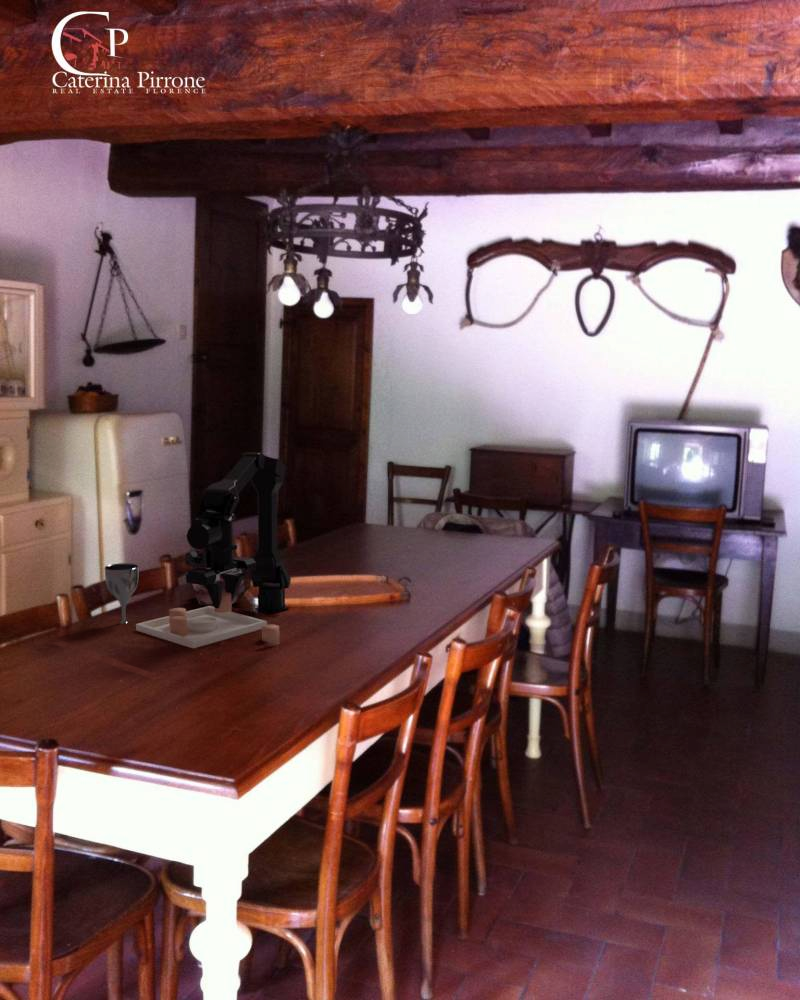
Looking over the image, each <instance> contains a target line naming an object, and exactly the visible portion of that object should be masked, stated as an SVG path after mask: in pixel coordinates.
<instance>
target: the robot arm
mask: <svg viewBox="0 0 800 1000" xmlns="http://www.w3.org/2000/svg"><path fill="white" fill-rule="evenodd" d="M285 473H286V465H285V464H284V463H283V461H282V460H281V459H280V458H276V457H275V458H273V457H271V456H270V457H269V456H267V455H265V454H263V453H261V452H251V451H250V452H247V451H245V452H244V453H242V454H241V455H240V459H239V460H238V462H237V463H236V464H235V465H234V466H233V467H232V469H230V471H229V472H228V473H227V475H226V476H225V477H224V478H223V479H221V480H220V481H217V482H214V483H212V484H211V485H209V486H207V488H205V489H204V490H203V493H202V494H201V497H200V500H199V503H198V507H197V511H196V513H195V516H194V517H195V518H194V520H193V523H194V524H193V525H191V526H190V527H189V529H187V533H186V540H187V543H188V544H189V545H190V547H192V548H193V549H195V550H192V551H189V552H187V553H185V558H184V561H185V564H186V566H188V567H191V569H189V570H188V571H187V572H185V582H186V584H191V585H192V584H198V585H204V586H205V587H206V589H207V591H208V593H209V595H210V598H211V600H212V603H213V605H214V606H213V605H212V606H213V607H214V608H217V609H218V608H219V606H220V602H221V596H222V591H223V585H224V582H225V592H230V593H231V603H232V601H233V599H234V597H235V594H236V592H237V590H238V588H239V586H240V584H241V582H242V580H243V581H244V578H245V577H247V574H246V573H243V571H242V569H245V571H246V572H247V573H249V574H250V578H251V583H252V587H253V588H258V594H257V606H256V607H255V608H254V610H256V611H260V612H264V613H267V614H275V613H279V612H282V611H283V612H284V611H286V610H289V609H290V607H289V606H287V605H286V593H285V589H290V586H291V580H292V578H291V576H290V574H289V572H288V571H287V569H286V567H285V561H284V559H285V558H284V557H283V556H282V554H281V552H280V550H279V549H278V492H279V490H280V489H281V487H282V486H283V484H284V478H285ZM250 481H251V484H252V486H253V487H254V489H255V491H256V492H257V550H256V552H255V554H254V556H253V555H252V556H251V557H247V556H246V557H245V556H236V557H234V556H235V555H234V552H235V550H238V544H234V525H233V524H234V523H233V521H234V520H236V519H237V515H235V514H234V511H235V510H236V507H237V506H238V504H239V502H240V498H239V495H240V493H241V492H242V491H243V489H244V488H245V486H246V485H247V484H248V483H249V482H250ZM196 550H203V552H200V553H197V552H196ZM206 568H210V569H206ZM217 571H218V572H217ZM220 575H221V576H222V578H223V580H224V581H220ZM232 604H233V603H232Z"/></svg>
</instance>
